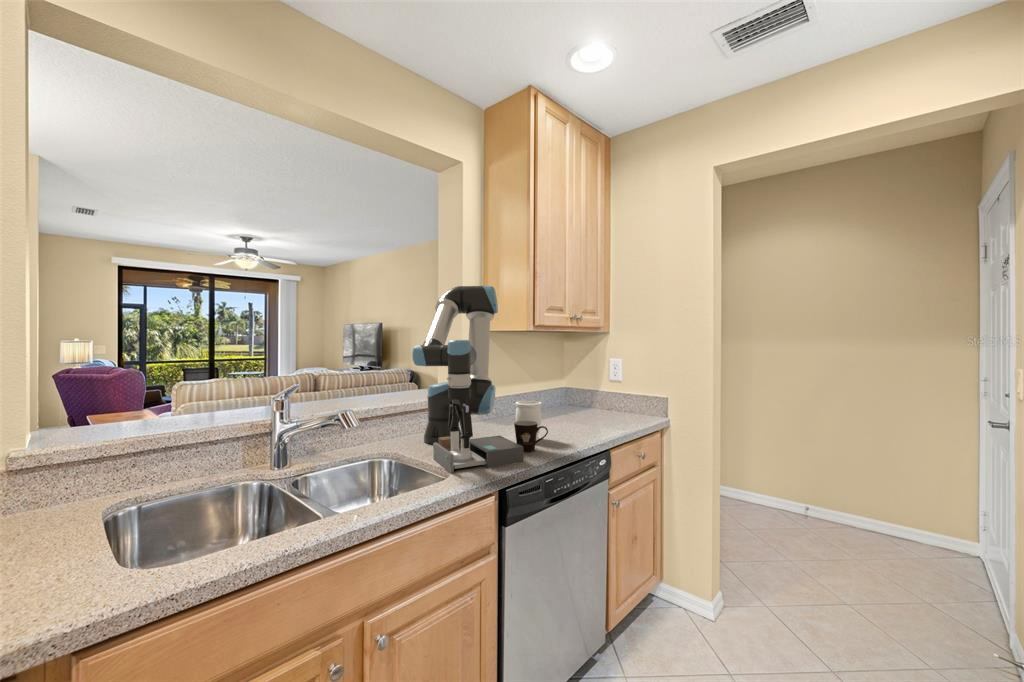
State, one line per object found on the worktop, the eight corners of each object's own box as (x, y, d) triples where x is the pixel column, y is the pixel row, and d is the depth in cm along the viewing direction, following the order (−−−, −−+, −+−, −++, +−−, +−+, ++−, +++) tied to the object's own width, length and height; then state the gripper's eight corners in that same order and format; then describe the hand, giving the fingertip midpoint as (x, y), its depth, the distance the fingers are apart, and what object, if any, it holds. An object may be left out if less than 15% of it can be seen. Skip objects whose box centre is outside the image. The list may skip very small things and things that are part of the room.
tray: (432, 459, 153) (432, 442, 153) (467, 454, 159) (467, 438, 159) (449, 473, 138) (449, 455, 138) (487, 467, 144) (487, 449, 144)
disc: (466, 454, 154) (466, 448, 154) (475, 459, 147) (475, 453, 147) (444, 457, 150) (444, 451, 150) (452, 463, 143) (452, 456, 143)
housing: (466, 454, 160) (466, 438, 159) (499, 449, 166) (499, 434, 165) (487, 467, 143) (487, 451, 143) (523, 462, 149) (523, 446, 149)
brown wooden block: (438, 454, 159) (438, 437, 159) (449, 452, 161) (449, 436, 161) (442, 457, 156) (442, 440, 156) (453, 455, 158) (453, 438, 158)
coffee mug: (510, 451, 163) (510, 424, 163) (520, 446, 170) (520, 419, 170) (539, 455, 157) (539, 427, 157) (549, 449, 165) (548, 422, 165)
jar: (510, 439, 181) (510, 402, 181) (528, 435, 188) (528, 399, 188) (528, 443, 173) (528, 405, 173) (547, 439, 180) (546, 402, 180)
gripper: (438, 383, 156) (438, 447, 157) (460, 391, 137) (461, 464, 137) (458, 382, 160) (459, 445, 160) (483, 389, 140) (483, 460, 141)
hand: (460, 454), depth 149 cm, fingers open, 9 cm apart
